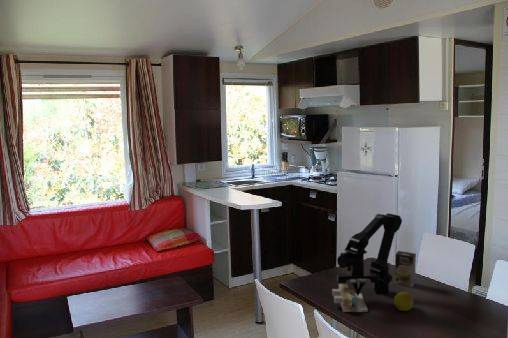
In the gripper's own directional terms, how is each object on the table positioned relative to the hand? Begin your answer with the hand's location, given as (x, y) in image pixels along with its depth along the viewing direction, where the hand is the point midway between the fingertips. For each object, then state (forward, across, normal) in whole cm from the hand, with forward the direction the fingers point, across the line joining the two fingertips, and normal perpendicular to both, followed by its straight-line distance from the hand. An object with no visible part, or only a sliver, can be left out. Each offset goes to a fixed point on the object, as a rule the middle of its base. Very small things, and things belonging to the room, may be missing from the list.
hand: (357, 295), depth 212 cm
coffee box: (+3, -27, -21) cm, 34 cm away
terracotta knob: (+1, +7, 0) cm, 7 cm away
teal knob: (+1, +7, +8) cm, 11 cm away
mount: (+2, +3, +4) cm, 5 cm away
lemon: (+3, -19, +10) cm, 22 cm away
